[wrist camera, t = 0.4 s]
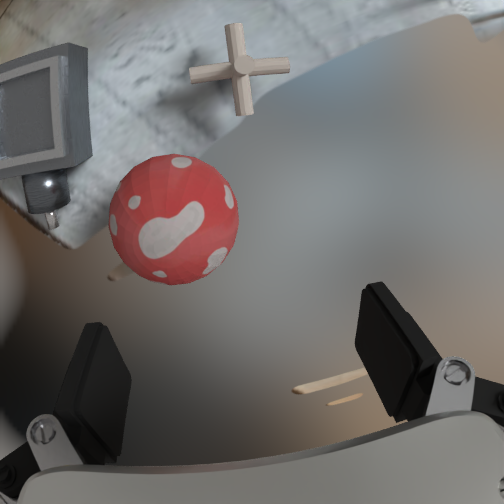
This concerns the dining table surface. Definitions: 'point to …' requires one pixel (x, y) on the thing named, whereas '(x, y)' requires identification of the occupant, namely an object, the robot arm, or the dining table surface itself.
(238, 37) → the pipe connector
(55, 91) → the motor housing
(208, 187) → the decorative mushroom
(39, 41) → the dining table surface
